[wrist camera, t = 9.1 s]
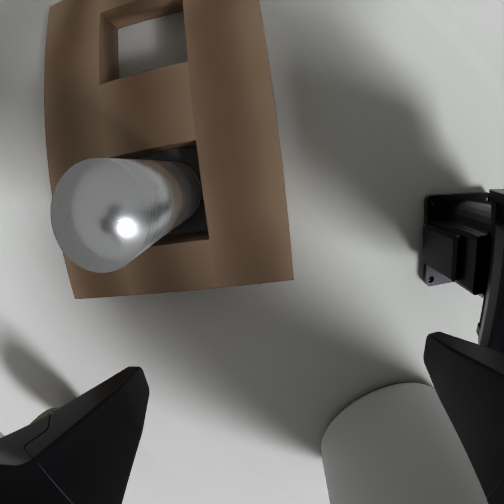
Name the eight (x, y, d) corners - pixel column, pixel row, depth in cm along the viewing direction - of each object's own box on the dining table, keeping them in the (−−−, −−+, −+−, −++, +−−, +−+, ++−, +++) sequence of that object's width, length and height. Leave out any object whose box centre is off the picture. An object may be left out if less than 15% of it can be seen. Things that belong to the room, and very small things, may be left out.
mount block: (250, -28, 15) (249, -51, 12) (288, 264, 20) (293, 279, 18) (69, 19, 16) (50, 6, 13) (94, 283, 21) (75, 299, 18)
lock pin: (196, 156, 19) (138, 146, 9) (205, 219, 20) (157, 267, 10) (137, 167, 19) (43, 172, 9) (146, 227, 20) (63, 277, 10)
